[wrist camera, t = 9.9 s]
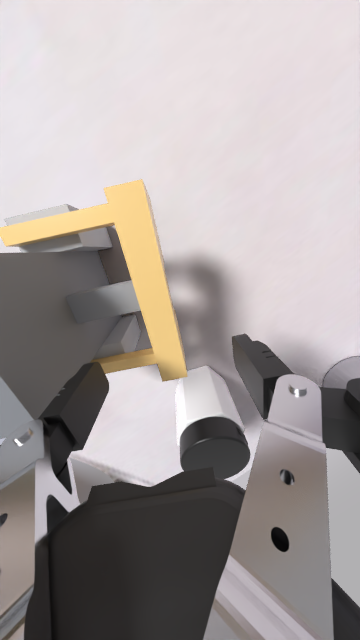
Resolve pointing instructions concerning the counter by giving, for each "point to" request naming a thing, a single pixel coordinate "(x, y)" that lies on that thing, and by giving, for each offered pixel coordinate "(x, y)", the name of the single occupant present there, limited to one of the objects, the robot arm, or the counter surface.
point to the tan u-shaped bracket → (143, 264)
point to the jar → (209, 425)
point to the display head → (57, 317)
